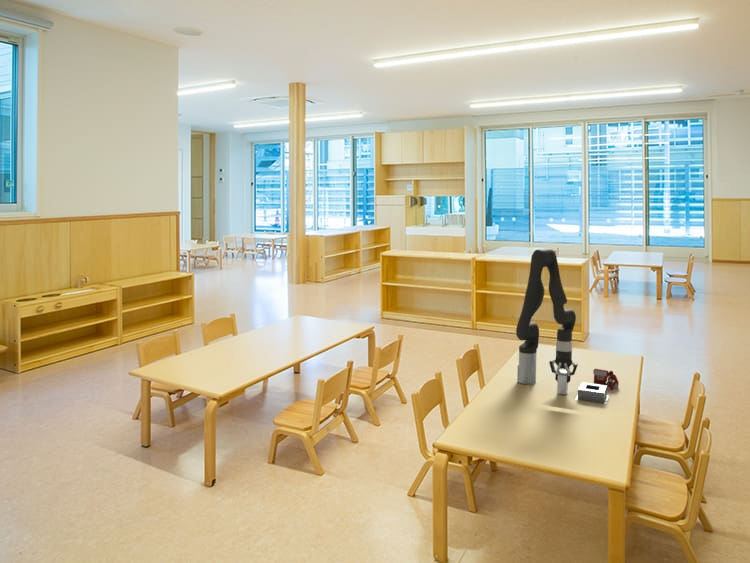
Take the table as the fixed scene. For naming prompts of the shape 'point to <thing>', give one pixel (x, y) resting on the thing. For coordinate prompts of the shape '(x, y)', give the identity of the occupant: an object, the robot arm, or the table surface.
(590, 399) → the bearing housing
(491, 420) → the table surface
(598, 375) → the toy fire truck
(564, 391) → the brushed square peg
